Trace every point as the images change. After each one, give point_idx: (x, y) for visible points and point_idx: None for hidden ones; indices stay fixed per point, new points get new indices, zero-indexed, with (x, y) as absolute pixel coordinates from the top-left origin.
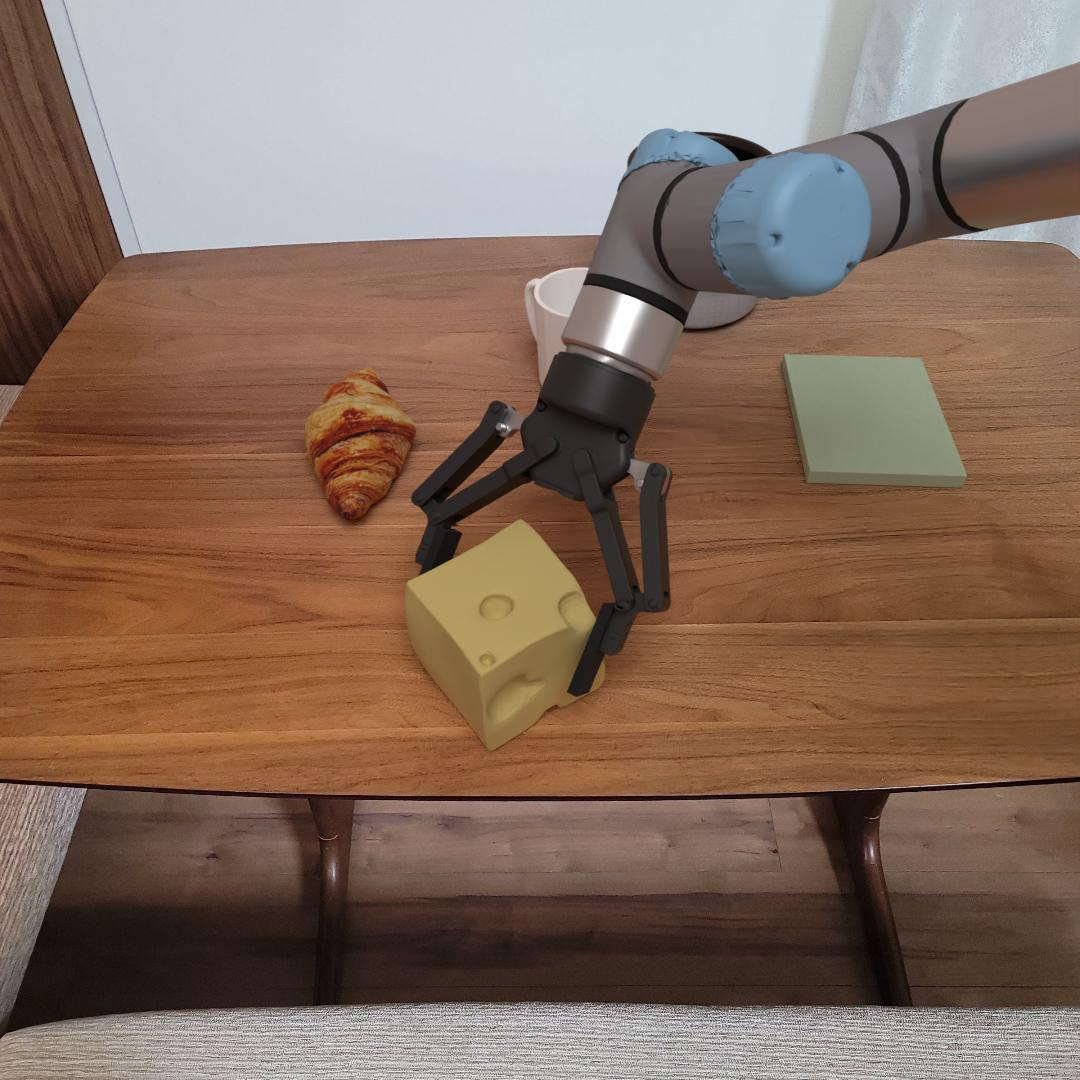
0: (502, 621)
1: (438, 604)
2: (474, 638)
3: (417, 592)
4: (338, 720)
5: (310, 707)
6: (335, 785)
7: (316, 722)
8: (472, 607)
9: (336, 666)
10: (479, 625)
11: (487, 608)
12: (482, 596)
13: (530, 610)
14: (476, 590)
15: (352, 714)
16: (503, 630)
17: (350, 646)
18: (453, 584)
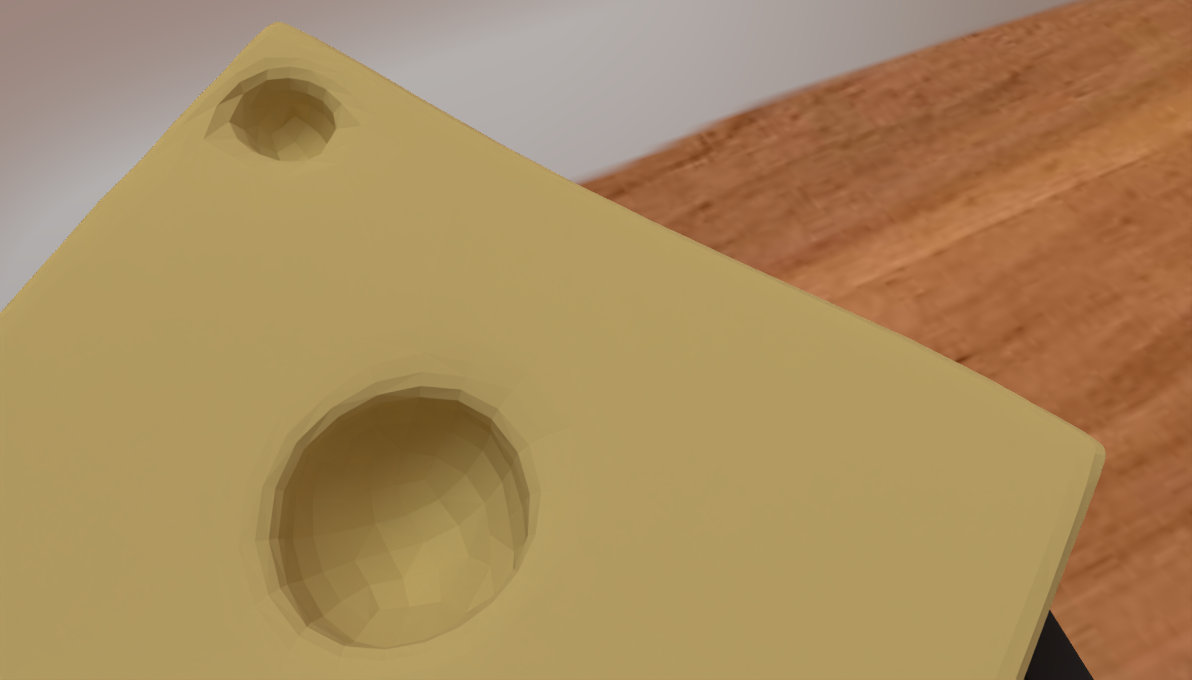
0: (295, 387)
1: (788, 351)
2: (423, 203)
3: (978, 382)
4: (942, 285)
5: (1061, 290)
6: (791, 100)
7: (1000, 251)
8: (561, 428)
9: (1116, 474)
10: (441, 308)
11: (497, 557)
12: (540, 546)
13: (118, 562)
14: (609, 575)
15: (916, 322)
16: (255, 314)
17: (1144, 582)
18: (800, 556)
